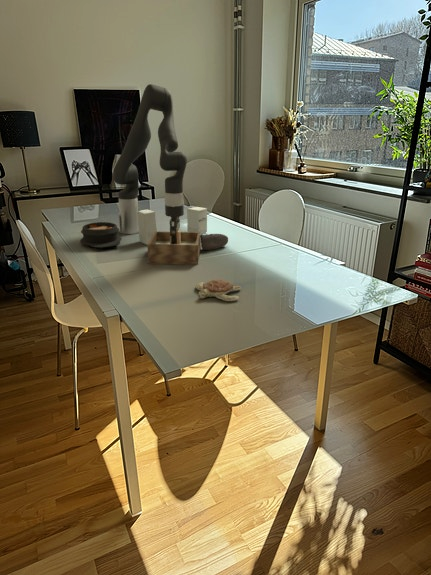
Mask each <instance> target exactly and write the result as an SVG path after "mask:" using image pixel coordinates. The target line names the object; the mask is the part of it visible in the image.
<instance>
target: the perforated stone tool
mask: <svg viewBox="0 0 431 575" xmlns="http://www.w3.org/2000/svg"><path fill="white" fill-rule="evenodd" d="M228 242H229V238H228V236H227V235H225V234H222V233H209V234H207V233H204V234H200V248H201V249H202V250H203V251H209V250H210V251H211V250H216V249H219V248H223V247H225V246H226V245H228Z"/></svg>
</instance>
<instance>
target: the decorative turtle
mask: <svg viewBox="0 0 431 575" xmlns="http://www.w3.org/2000/svg"><path fill="white" fill-rule="evenodd" d="M195 289H196V290H198V294H197V296H198V298H199V299H205V298H206V299H207V298H214V297H215V298H216V299H219V300H223V301H227V302H232V301H236V300H238V299H239V298H240V297H239V296H238V295H227V294H228V293H230V292H231V291H240V290H241V289H242V287H241V286H240V285H233V284H232V283H230V281H227V280H222V279H214V280H209V281H207V282H206V283H205V282H203V281H202V282H199V283H197V284H196V285H195Z"/></svg>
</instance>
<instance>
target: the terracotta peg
mask: <svg viewBox="0 0 431 575" xmlns="http://www.w3.org/2000/svg"><path fill="white" fill-rule="evenodd" d="M180 232H181V229H179V230H178V232H177V244H181V235H180ZM172 233H175V232H172ZM170 244H171V236H170Z"/></svg>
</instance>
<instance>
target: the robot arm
mask: <svg viewBox="0 0 431 575" xmlns="http://www.w3.org/2000/svg"><path fill="white" fill-rule="evenodd" d="M142 93H143V94H142V97H141V99H140V103H139V107H138V109H137V113H136V116H135V119H134V122H133V124H132V127H131V128H130V131H129V134H128V136H127V138H126V139H127V140H126V141H125V145H124V147H123V149H122V151H121V153H120V156H119V158H118V159H117V161H116V164H114V165H115V166H114V168H113V171H112V178H113V182H115V184H117V185H123V186H124V185H125V186H124V188H123V189H122V190H120V191H119V192H118V194H117V196H118V205H119V206H118V207H119V214H118V220H119V222H118V223H119V233H120V234H125V235H133V234H138V233H139V227H138V216H137V211H139V201H138V200H139V199H138V198H139V197H138V195H139V172H138V168H137V166H136V165H135V164H133V163H134V162H135V161H136V160H137V159H138V158H140V156H142V155H143V154H144V153H145V152H146V150H147V148H148V146H149V143H150V141H151V138H152V132H151V128H150V125H149V119H148V118H149V112H150V111H151V110H152V111H153V110H154V111H157V112H162V115H163V117H162V120H161V121H160V123H159V125H158V128H157V137H158V141H159V145H160V155H159V167H160V168H161V169H162V171H165V172H173V171H176V172H175V174H174V175H171V176H168V177H165V178H164V213H165V214H164V215H165V216H166V217H170V220H169V232H170V236H171V244H177V232H178V230H180V228H181V227H180V225H181V220H180V217H182V216H184V215H185V212H184V210H185V209H184V208H185V207H184V206H185V205H184V200H185V199H184V190H183V189H184V188H183V185H184V184H183V182H184V175H185V172H186V167H187V164H188V158H187V156H186V154H185V153H184V152H183V151H177V150H178V148H179V142H178V137H177V134H176V129H175V124H174V123H175V122H174V105H173V96H172V92H171V91H170V89H168V88H166V87H163V86H160V85H156V84H151V83H149V84H147V85H146V86H145V88H144V90H143V92H142ZM172 232H175V233H172Z"/></svg>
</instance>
